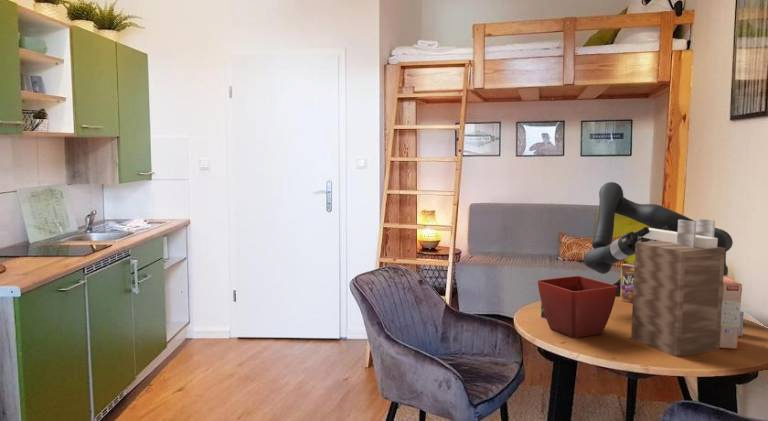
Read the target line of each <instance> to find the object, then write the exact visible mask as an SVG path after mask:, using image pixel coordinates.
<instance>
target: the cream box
mask: <svg viewBox="0 0 768 421" xmlns="http://www.w3.org/2000/svg"><path fill="white" fill-rule="evenodd" d="M648 228H649V231H650V232H649V233H648V234H646V235H644V236H643V237H642V238H648V239H654V240H657V241H665V242H671V243H677V233H678V232H674V231H667V230H661V229H654V228H651V227H648ZM717 242H718V238H713V237H706V236H700V235H696V238H695V247H700V248H705V249H709V248H717Z"/></svg>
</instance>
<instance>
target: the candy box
mask: <svg viewBox="0 0 768 421" xmlns="http://www.w3.org/2000/svg"><path fill="white" fill-rule="evenodd" d="M634 265H635V264H630V263H623V264H621V268H620V269H621V270H620V271H621V273H620V291H619V292H620V296H619V300H620V301H622V302H627V303H631V304H633V287H634Z"/></svg>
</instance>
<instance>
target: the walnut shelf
mask: <svg viewBox="0 0 768 421" xmlns="http://www.w3.org/2000/svg"><path fill="white" fill-rule="evenodd" d="M695 221H696V222H695ZM715 228H716V220H715V219H714V220H713V219H712V220H711V219H705V218H696V220H694V221H687V220H678V233H677V243H671V242H665V241H660V240H657V241H653V242H637V243H635V254H634V264H633V265H634V287H633V303H632V311H631V312H632V313H631V331H630V332H631V334H630V337H631V340H633V341H636V342H638V343H641V344H643V345H646V346H649V347H651V348H653V349H656V350H659V351H661V352H664V353H667V354H669V355H671V356H674V357H682V356H688V355H689V356H690V355H695V354H700V353H701V354H702V353H706V352H707V353H708V352H714V351H719V350H720V348H719V342H720V325H721V308H722V292H723V275H724V259H725V248H722V247H717V248H709V249H705V248H700V247H695V238H696V235H700V236H706V237H713V238H714V231H715Z"/></svg>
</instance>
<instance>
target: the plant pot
mask: <svg viewBox="0 0 768 421" xmlns="http://www.w3.org/2000/svg"><path fill="white" fill-rule="evenodd" d="M537 287H538V291H539V292H538V293H539V297H540V302H541V303H542V306H543V310H544V313H545V316H546V317H545V319H546V321H547V324H548V326H549V329H552V330H554V331H556V332H559V333H561V334H563V335H566V336H569V337H571V338H583V337H589V336H594V335H595V336H596V335H601V334H603V332H604V330H605V328H606V326H607V323H609V322H608V321H609V318H610V317H611V313H612V310H613V308H614V304H615V300H616V297H617V292H618V288H619V287H618V285H615V284H612V283H608V282H605V281H600V280H596V279H592V278H588V277H585V276H581V275H574V276H564V277H556V278H547V279H538V280H537ZM541 303H540V304H541Z"/></svg>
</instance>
